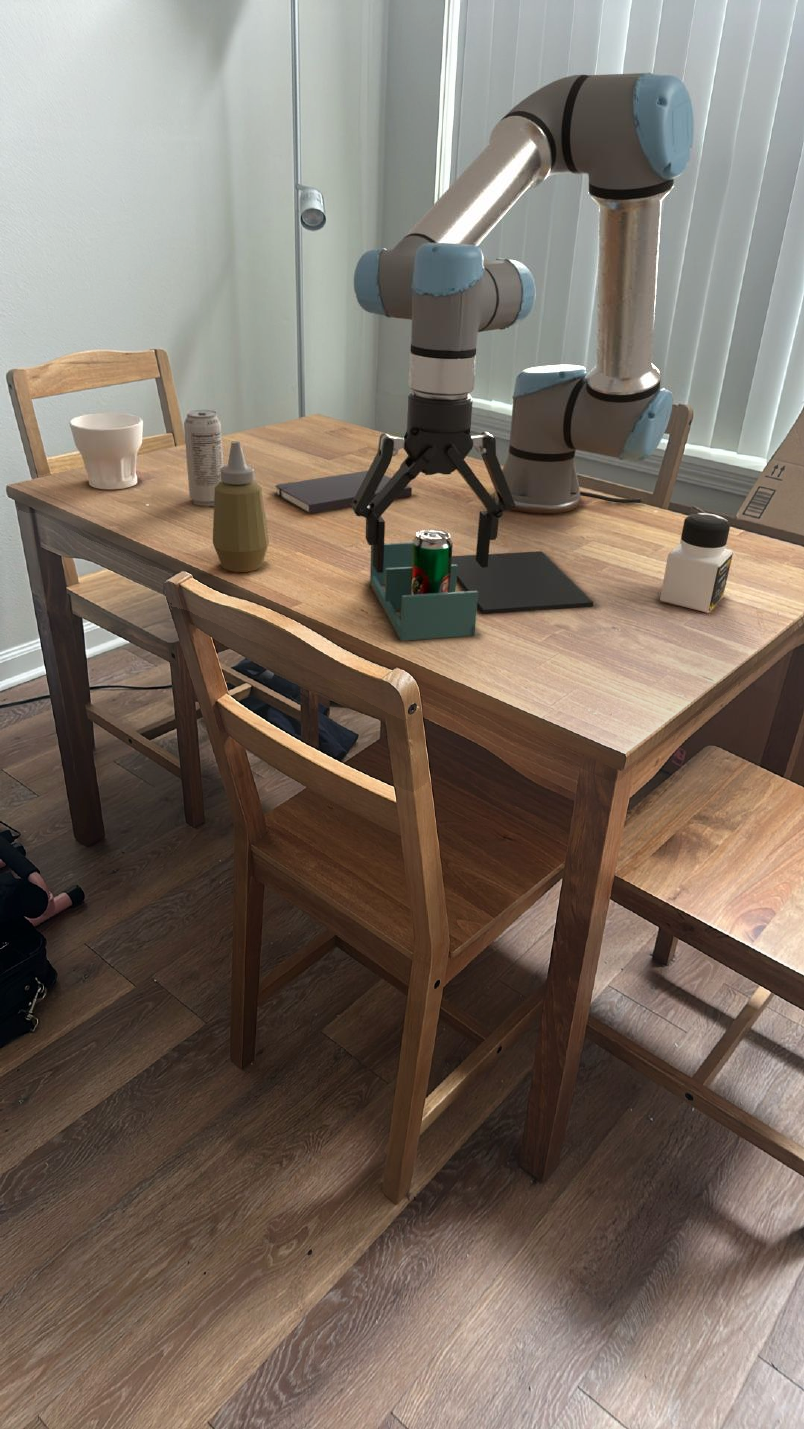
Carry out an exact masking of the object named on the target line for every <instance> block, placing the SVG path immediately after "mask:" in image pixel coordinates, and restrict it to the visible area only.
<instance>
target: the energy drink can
mask: <svg viewBox="0 0 804 1429" xmlns="http://www.w3.org/2000/svg"><path fill="white" fill-rule="evenodd" d="M183 429H184V430H183V431H184V442H185V453H186V454H185V455H186V456H185V457H186V468H187V481H188V493H189V499H191V500H192V501H193V504H194V505H197V506H200V507H214V493H215V486H216V485H217V484H218V483H220V482H221V473H220V469H221V468H222V467H224V454H223V438H222V423H221V421H220V419H219V418H218V416H217V412H216V411H215V410H210V409H193V410H189V411H187V412H186V418H185V420H184V422H183Z"/></svg>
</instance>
